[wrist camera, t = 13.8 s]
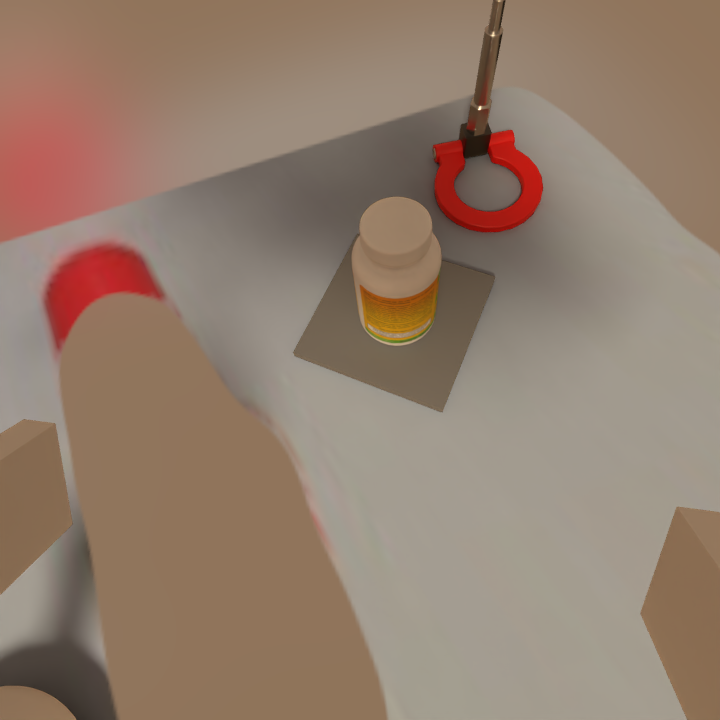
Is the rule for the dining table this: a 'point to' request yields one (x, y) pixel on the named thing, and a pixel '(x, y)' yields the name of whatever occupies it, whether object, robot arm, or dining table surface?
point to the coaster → (406, 362)
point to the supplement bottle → (396, 271)
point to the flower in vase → (30, 705)
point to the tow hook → (486, 150)
